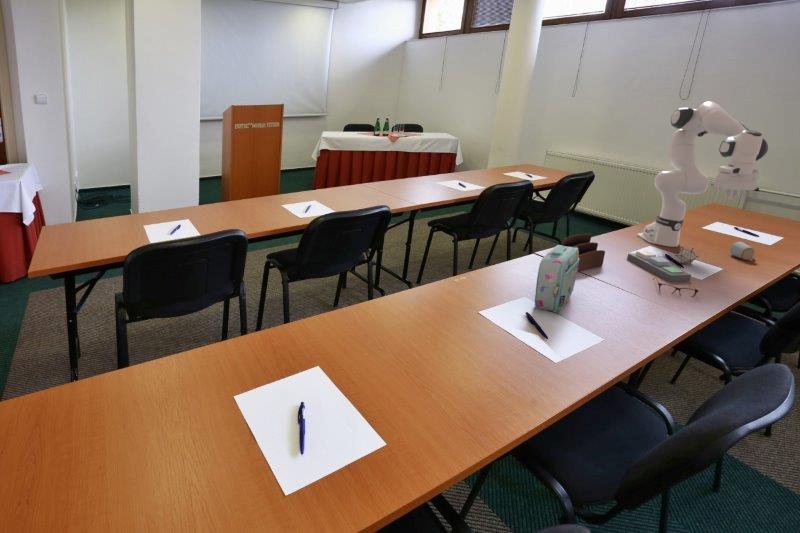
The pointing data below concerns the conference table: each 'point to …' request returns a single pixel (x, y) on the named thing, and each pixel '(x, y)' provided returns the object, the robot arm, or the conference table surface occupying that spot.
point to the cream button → (645, 254)
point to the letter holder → (585, 251)
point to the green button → (672, 270)
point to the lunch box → (556, 278)
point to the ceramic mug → (742, 251)
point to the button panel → (659, 269)
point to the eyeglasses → (677, 288)
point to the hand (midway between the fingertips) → (730, 199)
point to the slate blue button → (658, 261)
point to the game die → (686, 256)
